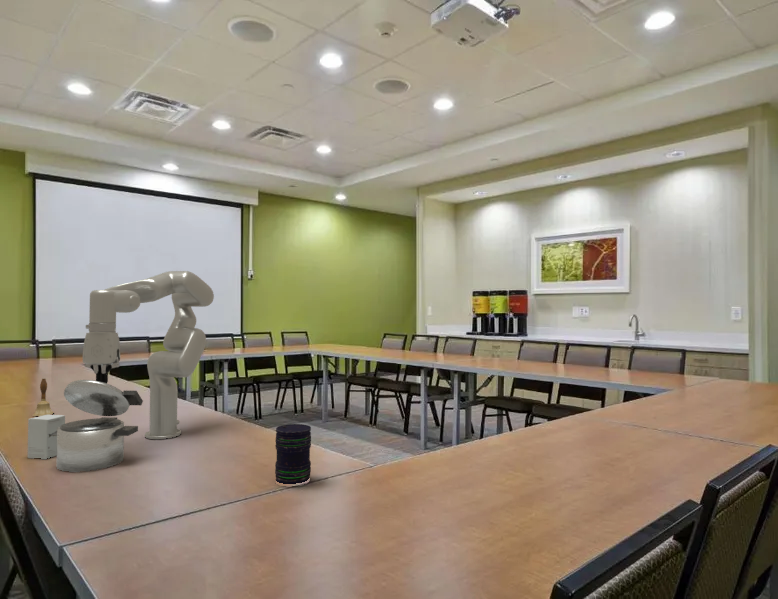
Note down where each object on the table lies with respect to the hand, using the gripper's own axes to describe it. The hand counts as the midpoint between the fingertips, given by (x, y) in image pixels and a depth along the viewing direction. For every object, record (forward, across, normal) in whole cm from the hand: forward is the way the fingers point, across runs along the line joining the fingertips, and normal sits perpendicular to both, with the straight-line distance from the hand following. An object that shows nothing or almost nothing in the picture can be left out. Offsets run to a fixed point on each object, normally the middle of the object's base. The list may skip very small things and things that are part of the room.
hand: (101, 385), depth 166 cm
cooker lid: (+4, +2, -3) cm, 5 cm away
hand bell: (+23, -61, +62) cm, 90 cm away
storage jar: (+23, +66, -20) cm, 72 cm away
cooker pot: (+23, +2, -5) cm, 24 cm away
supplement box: (+23, -18, +2) cm, 30 cm away
